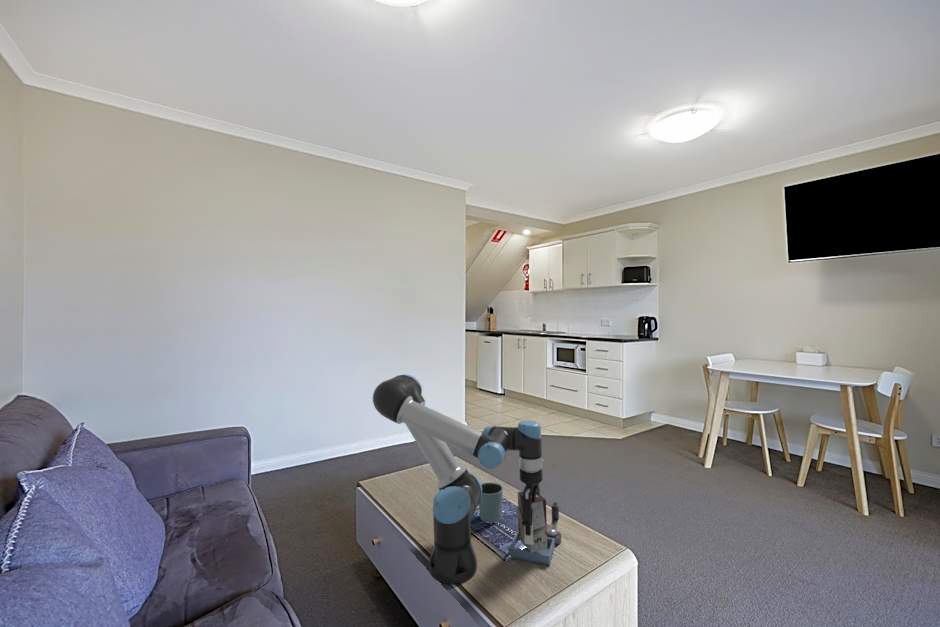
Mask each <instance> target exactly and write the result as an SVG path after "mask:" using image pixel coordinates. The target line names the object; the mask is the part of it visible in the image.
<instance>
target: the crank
mask: <svg viewBox="0 0 940 627" xmlns="http://www.w3.org/2000/svg"><path fill="white" fill-rule="evenodd" d="M550 507H551V508H550V509H551V522H550V526H547V536H550V537H556V536H557V535H558V532H559V531H558V530H559V529H558V528H557V527H558V524H559V519H560V510H559V509H560V507H559V504H558V502H556V501H554V502H553V503H552V505H551V506H550Z"/></svg>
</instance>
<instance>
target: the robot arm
mask: <svg viewBox="0 0 940 627" xmlns="http://www.w3.org/2000/svg"><path fill="white" fill-rule="evenodd" d="M422 392H423V388H422V385H421V382H420V381H419V380H418V379H417V378H416V377H415V376H413V375H411V374H399V375H396V376H395V377H392V378H390V379H386V380H384V381H382V382H380V383H379V384H378V385H377V386H376V387H375V389H374V391H373V393H372V404H373V406H374V408H375V410H376V411H377V412H378V413H379V414H380V415H381V416H382V417H384V418H386V419H388V420H390V421H392V422H394V423H396V424H398V425H400V424H403V423H404V424H405V426H406V427H407V429H408V431H409V432H410V434H411V436H412V437H413V439H414V441H415V442H416V444H417V445H418V448H419V449H420V451H421V452H422V454H423V456H424V457H425V459H426V461H427V463H428V464H429V466H430V467H431V469H432V471H433V473H434V475H435V476H436V477H437V479H438V483H437V484H438V485H437V488H438V490H439V491H438V492H437V493H436V494H435V495H434V497H433V502H432V503H433V504H432V513H433V514H432V516H433V517H432V518H433V542H434V544H433V546H432V547H433V548H432V550H431V554H430V557H429V562H428V566H429V567H428V568H429V570H428V571H429V574H430V576H431V577H432V578H433V579H434V580H435V581H437V582H439V583H441V584H442V583H443V584H449V585H454V584H460V583H463V582H466V581H468V580H469V579H471V578H472V577H474V575H475V574H476V572H477V570H478V569H477V568H478V562H477V561H478V559H477V555H476V553H475V550H474V547H473V544H472V541H471V540H472V539H471V536H472V535H471V533H472V532H471V531H472V530H471V529H472V528H471V522H472V518H473V517H474V514H475V512H476V510H477V508H478V507H479V503H480V501H481V496H482V486H481V484H482V483H481V481H480V479H479V478H478V477H477V476H476V475H475V474H474V473H470V472H469V470H468V469H467V467H465V466H462V465H460V464H459V463H458V460H457V459H456V458H455V456H454V454H453V452H452V451H451V449H450V448H449V446H448V445H450V446H452V447H454V448H456V449H459V450H461V451H463V452H464V453H467V454H469V455H471V456H474V457H475V458H477V459H478V461H479V463H480V465H482V467H484V468H485V469H488V470H493V469H496V468H498V467H499V466H500V465H501V464H502V463H503V461H504V460H505V458H506V454H507V452H508V451H513V452H514V451H517V452H518V460H519V462H518V464H519V465H518V466H519V480H520V481H521V482H522V483H523V484H525V486H524V490H523V491H524V492H523V519H522V522H521V524H522V525H524V537H525V544H530V545H533V524H532V516H533V512H532V509H531V502H534V501H535V497H536V493H537V494H539V495H541V489H540V484H541V482H542V481H543V480H544V479H543V469H542V468H543V463H544V462H545V461H544V459H542V457H543V455H542V454H543V451H542V450H543V449H542V448H543V446H542V428H541V424H540V423H539V422H537V421H536V420H529V419H527V420H522V421H519V422H518V424H517V426H516V427H512V426H509V427H508V426H496V425H493V426H492V425H491V426H490V425H489V426H485V427H484V428H483V432H481V431H480V430H477V429H475V428H474V427H471V426H469V425H467V424H466V423H465V424H464V423H463V422H460V421H458V420H456V419H454V418H452V417H449V416H448V415H445V414H443V413H441V412H439V411H436V410H434V409H432V408H429V407H428V406H426V400H425V399H424V397H423V395H422V394H423V393H422ZM532 498H533V499H532Z"/></svg>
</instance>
